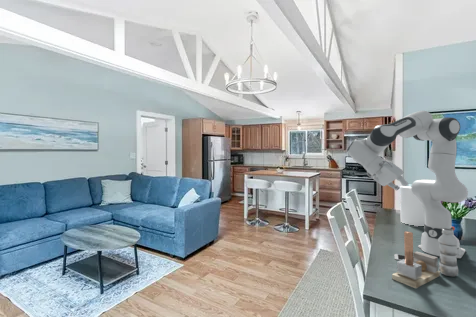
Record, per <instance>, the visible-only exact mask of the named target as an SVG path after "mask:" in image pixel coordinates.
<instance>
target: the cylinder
mask: <svg viewBox="0 0 476 317" xmlns="http://www.w3.org/2000/svg"><path fill="white" fill-rule="evenodd" d="M399 187H400V188H399V202H400V203H399V204H400V205H399V206H400V208H399V209H400V210H399V211H400V212H399V214H400V223H401V222H402V223H405V224H409V225H408V226H410V225H414V226H413V227H418V226H424V224H425V213H424V208H423V206H422V204H421V202H420V200H419V199H418V198H417V197H416V196H415V195H414V194H413V192H412V190H411V186H410V185H409V186H408V185H406V186H403V185H400V186H399ZM402 223H401V224H402ZM405 224H404V225H405Z"/></svg>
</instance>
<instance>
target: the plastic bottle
mask: <svg viewBox="0 0 476 317" xmlns="http://www.w3.org/2000/svg"><path fill="white" fill-rule="evenodd" d="M442 233H443V234H442V235H441V236H440V238H439V240H438V242H439V247H440V256H439V261H438V271H440V274H442V275H444V276H447V277H453V278H454V277H457V276H458V275H459V267H458V261H457V259H458V258H456V255H457V248H458V241H457V240H456V238H457V237H456V236H455V235H454V234H455V233H454V231H453V230H452V229H448V228H442ZM453 235H454V236H455V237H456V238H455V237H454V236H453Z"/></svg>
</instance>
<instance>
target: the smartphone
mask: <svg viewBox="0 0 476 317" xmlns="http://www.w3.org/2000/svg"><path fill="white" fill-rule="evenodd" d="M393 255H394V260H396V261H400V260H403V259H404V260H405V254H404V255H403V254H398V253H395V254H393ZM413 262H414V256H413Z"/></svg>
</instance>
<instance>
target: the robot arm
mask: <svg viewBox="0 0 476 317" xmlns="http://www.w3.org/2000/svg"><path fill="white" fill-rule="evenodd" d="M460 132H461V123H460V122H459V120H457V119H456V117H442V118H433V115H432V113H431V112H429V111H427V110H418V111H415V112H411V113H410V114H407V115H405V116H404V117H402V118H400V119H397V120H396V121H393V122H391V123H387V124H379V125H376V126H375V127H373V129H372V130H371V132H370V134H369V135H368V136H367V138H364V139H356V138H355V139H353V141H352V142H351V143H350V144H349V145H348V147H347V149H346V152H347V154H348V155H349V156H350V157H351V159H353V160H354V161H355V162H356V163H357V164H359V165H361V166H362V167H363V168H364V170H365V171H366V175H367V176H368V177H369V178H372V179H373V180H374V181H375V182H376V183H378V184H379V185H381V186H383V187H386V186H388V187H390V188H392V189H393V190H394V191H398V190H400V186H398V185H396V184H395V183H394V181H395V180H397V182H398V181H399V182H400V184H401V186H408V185H409V183H408V181H406V178H404V176H402V175H403V174H404V171H403V169H402V168H401V167H399V166H398V165H396V164H395V163H393V162H391V161H386V160H385V159H384V158H382V157H381V156H380V155H381V154H382V152H384V151H385V150H386V148H388V147H389V146H390V145H391V144H392V143H393V142H394V141H395V140H396V139H397V137H398V136H399V137H402V138H405V139H409V138H413V139H415V140H417V141H422V142H423V141H431V142H432V144H431V148H430V151H429V156H428V157H429V158H428V163H427V164H428V165H427V167H428V169H429V171H431V172H433V173H434V174H435V179H430V178H429V179H427V178H423V179H416V180H414V181H413V182H412V184H411V186H410V187H411V190H412V192H413V194H414V195H415V196H416V197H417V198H418V199H419V200H420V202H421V204H422V206H423V208H424V213H425V224H424V227H423V231H424V232H422V233H421V238H420V244H418V246H417V247H418V248H419V249H421V250H422V251H423V252H425V254H428V255H431V256H435V257H440V247H439V242H438V240H439V238H440V236H441V235H442V234H443V233H442V228H448V229H452V230H453V232H454V231H455V226H452V213H451V211H450V210H449V209H448V208H446V207H445V206H444V205H443V204H442V202H446V203H462V202H464V201H465V200H466V199H467V197H468V193H469V191H468V189H467V186H466V185H465V184H463V183H462V182H461V181H460V180H459V178H458V176H457V175H456V158H457V151H458V150H457V139H456V138H457V136H458V135H459V133H460ZM453 236H454V237H455V238H456V240H457V241H458V248H457V255H456V259H462V257H463V256H464V254H465V253H466V249H465V248H462V247H460V246H461V244H460V240H459V238H457V237H456V236H455V235H453Z"/></svg>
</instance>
